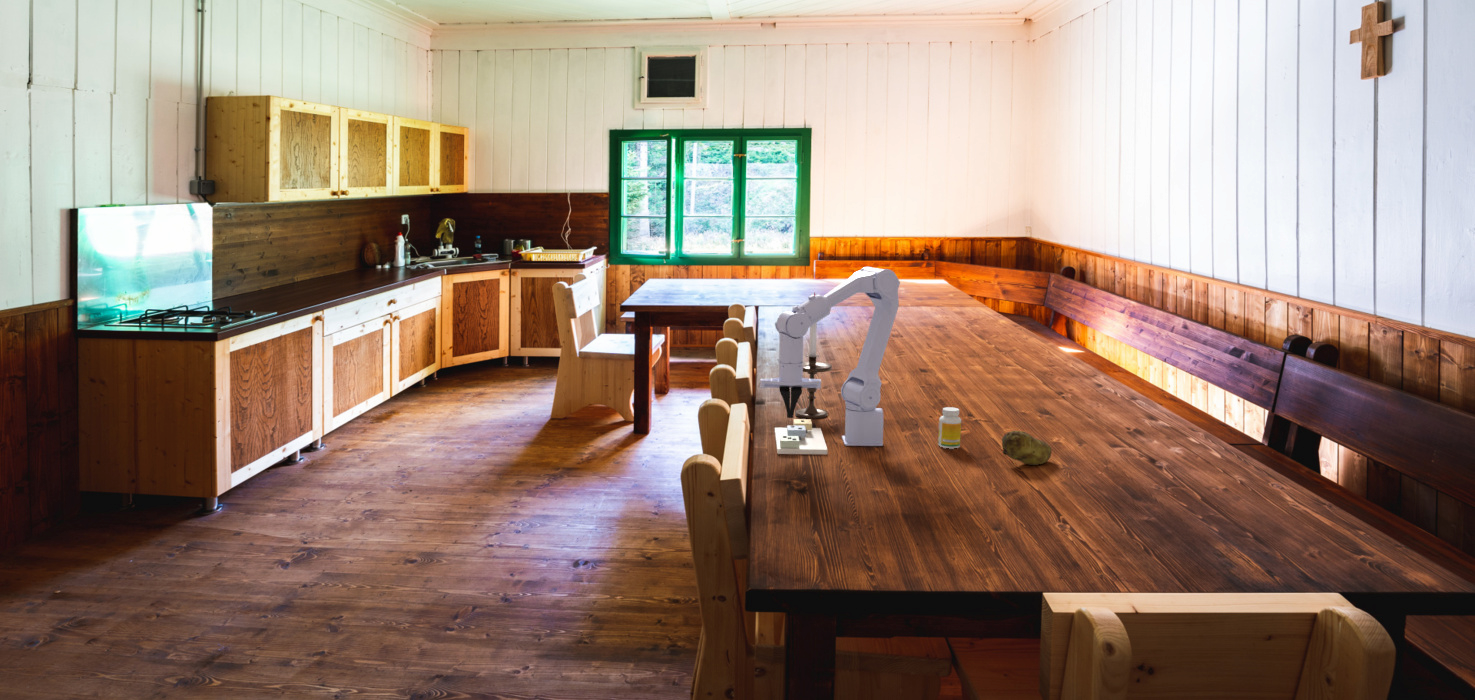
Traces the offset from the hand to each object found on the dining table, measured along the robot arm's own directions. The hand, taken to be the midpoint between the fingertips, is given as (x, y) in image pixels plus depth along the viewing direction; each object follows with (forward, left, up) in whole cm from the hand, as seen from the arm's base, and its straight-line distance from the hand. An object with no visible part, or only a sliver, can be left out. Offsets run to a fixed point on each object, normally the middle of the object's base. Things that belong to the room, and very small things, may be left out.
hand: (790, 417), depth 215 cm
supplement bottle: (-40, -5, -9) cm, 41 cm away
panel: (-3, -7, -8) cm, 11 cm away
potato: (-55, +9, -9) cm, 56 cm away
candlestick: (-8, -36, -9) cm, 38 cm away
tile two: (-2, -6, -6) cm, 9 cm away
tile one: (-4, -13, -6) cm, 15 cm away
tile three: (0, 0, -7) cm, 7 cm away
